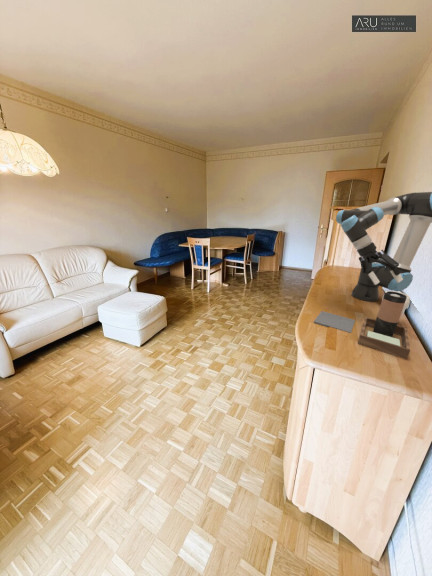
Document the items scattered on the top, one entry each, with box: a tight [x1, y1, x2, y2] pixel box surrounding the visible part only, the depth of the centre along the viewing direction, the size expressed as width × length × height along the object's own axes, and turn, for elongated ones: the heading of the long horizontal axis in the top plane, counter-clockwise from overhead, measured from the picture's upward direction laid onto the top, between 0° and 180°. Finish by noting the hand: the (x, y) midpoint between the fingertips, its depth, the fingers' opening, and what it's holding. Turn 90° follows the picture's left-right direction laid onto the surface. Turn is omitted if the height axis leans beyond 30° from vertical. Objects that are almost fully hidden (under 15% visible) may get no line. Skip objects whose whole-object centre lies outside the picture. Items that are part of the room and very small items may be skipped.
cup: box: [381, 290, 411, 313], centre depth 113 cm, size 11×11×15 cm
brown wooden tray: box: [357, 316, 411, 360], centre depth 97 cm, size 22×16×4 cm
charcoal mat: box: [313, 310, 356, 334], centre depth 112 cm, size 16×16×1 cm
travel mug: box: [372, 290, 407, 338], centre depth 98 cm, size 8×8×20 cm
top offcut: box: [366, 330, 401, 346], centre depth 93 cm, size 8×11×1 cm
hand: (388, 282), depth 110 cm, fingers open, 13 cm apart
